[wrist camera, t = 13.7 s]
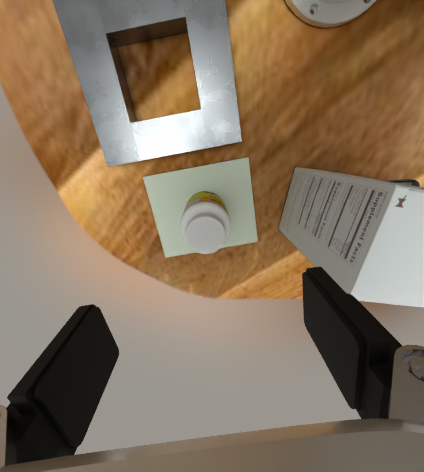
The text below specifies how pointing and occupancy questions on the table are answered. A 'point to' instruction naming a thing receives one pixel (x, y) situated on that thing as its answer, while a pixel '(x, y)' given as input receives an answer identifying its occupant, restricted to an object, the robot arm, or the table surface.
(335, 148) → the table surface
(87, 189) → the table surface
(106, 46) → the socket block
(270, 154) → the table surface
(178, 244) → the sage mat
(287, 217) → the supplement box
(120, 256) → the table surface
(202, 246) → the supplement bottle
